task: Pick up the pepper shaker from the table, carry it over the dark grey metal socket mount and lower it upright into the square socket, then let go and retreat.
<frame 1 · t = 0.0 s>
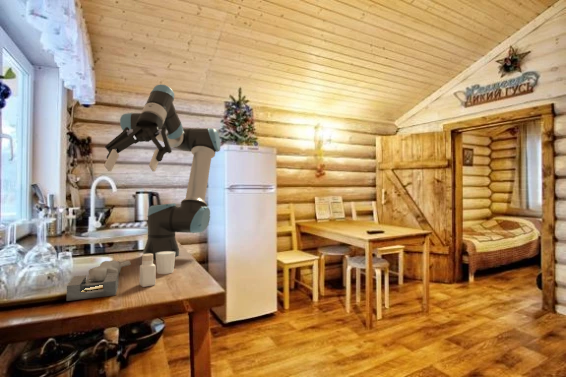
hand: (129, 168, 90), 36 cm above the kitchen counter, tool tilted 35°, fingers open, 13 cm apart
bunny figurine: (108, 277, 104), on the kitchen counter
pepper shaker: (147, 285, 96), on the kitchen counter
white cup: (165, 272, 111), on the kitchen counter
socket mount: (94, 292, 88), on the kitchen counter
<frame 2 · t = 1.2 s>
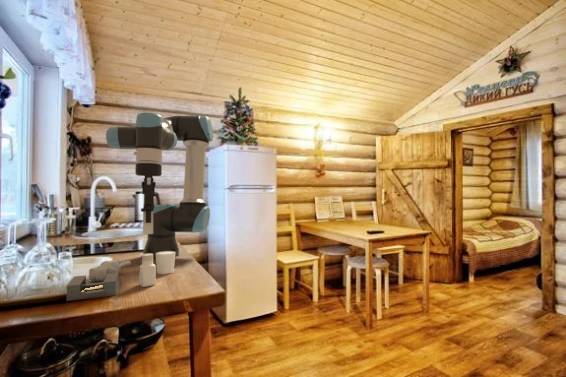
hand: (147, 231, 96), 17 cm above the kitchen counter, tool pointing down, fingers open, 13 cm apart
nothing on the kitchen counter moved.
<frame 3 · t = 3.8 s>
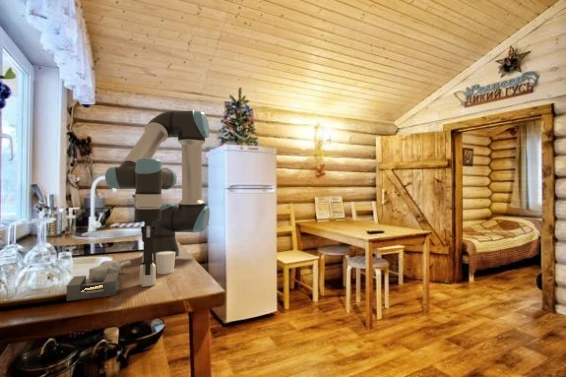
hand: (147, 282, 96), 1 cm above the kitchen counter, tool pointing down, fingers closed on pepper shaker, 4 cm apart
pepper shaker: (147, 285, 96), on the kitchen counter, touching gripper
everything else where it was.
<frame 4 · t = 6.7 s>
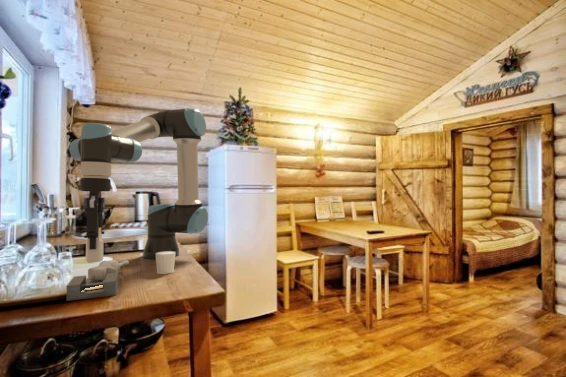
hand: (94, 258, 88), 10 cm above the kitchen counter, tool pointing down, fingers closed on pepper shaker, 4 cm apart
pepper shaker: (94, 261, 88), point 9 cm above the kitchen counter, touching gripper
everything else where it was.
when the fingers open (3 cm above the kitchen counter, at t = 8.1 s): pepper shaker drops 2 cm, resting in socket mount.
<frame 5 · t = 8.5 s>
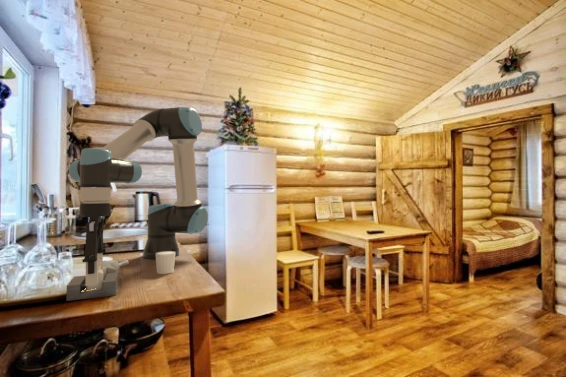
hand: (94, 279, 88), 4 cm above the kitchen counter, tool pointing down, fingers open, 10 cm apart
pepper shaker: (94, 293, 88), resting in socket mount
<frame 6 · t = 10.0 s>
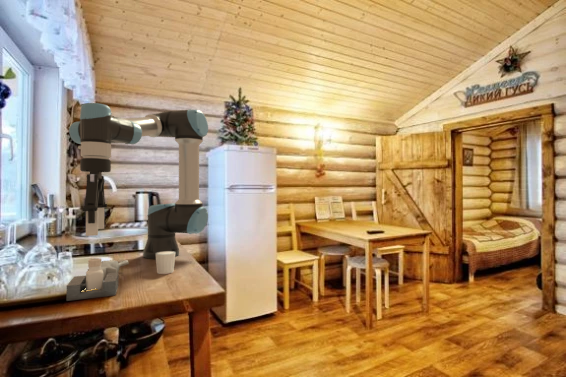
hand: (95, 232, 88), 17 cm above the kitchen counter, tool pointing down, fingers open, 13 cm apart
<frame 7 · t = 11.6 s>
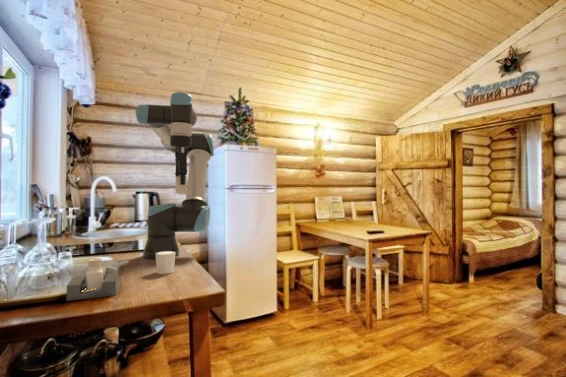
hand: (180, 193, 113), 28 cm above the kitchen counter, tool pointing down, fingers open, 13 cm apart
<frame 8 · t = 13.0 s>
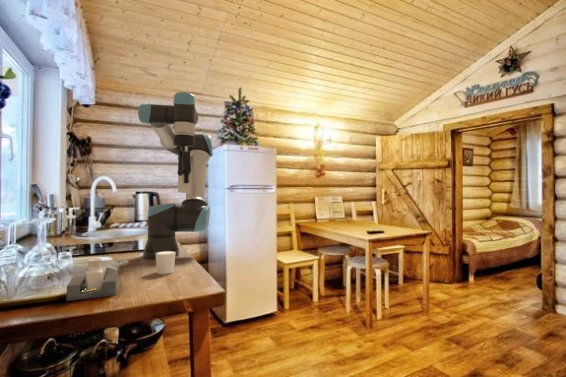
hand: (183, 192, 113), 29 cm above the kitchen counter, tool pointing down, fingers open, 13 cm apart
at the end: pepper shaker 0.1 cm off-centre on the socket mount, point 0.0 cm above the socket mount's base; pepper shaker tilted 0°; the gripper is holding nothing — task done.
